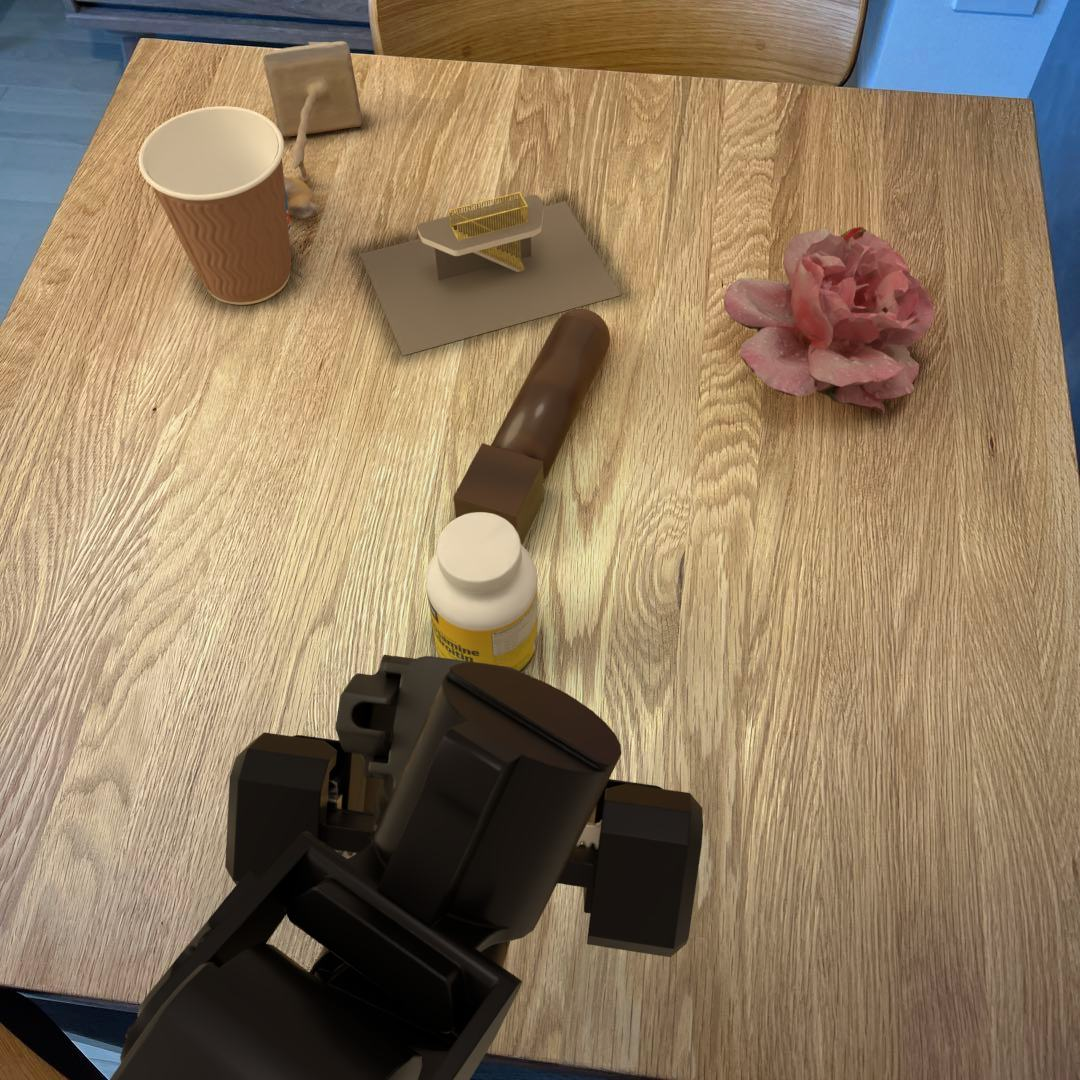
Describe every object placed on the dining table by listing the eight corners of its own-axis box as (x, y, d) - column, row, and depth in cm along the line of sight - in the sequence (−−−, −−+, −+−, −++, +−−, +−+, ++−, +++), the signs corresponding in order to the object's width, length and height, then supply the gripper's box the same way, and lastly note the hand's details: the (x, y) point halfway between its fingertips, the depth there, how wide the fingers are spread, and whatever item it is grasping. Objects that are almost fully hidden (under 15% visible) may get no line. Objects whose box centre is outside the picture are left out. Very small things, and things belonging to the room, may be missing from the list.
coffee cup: (338, 263, 92) (313, 136, 82) (252, 340, 87) (214, 216, 77) (243, 215, 95) (208, 88, 85) (155, 287, 91) (107, 162, 81)
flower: (753, 434, 78) (813, 316, 71) (693, 306, 88) (741, 191, 81) (935, 447, 83) (1008, 337, 76) (859, 324, 92) (918, 217, 86)
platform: (621, 295, 90) (625, 229, 84) (402, 355, 86) (392, 291, 81) (565, 201, 96) (566, 134, 91) (359, 254, 93) (347, 188, 87)
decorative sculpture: (318, 234, 94) (302, 160, 88) (206, 220, 95) (183, 146, 89) (369, 114, 103) (358, 39, 97) (266, 102, 104) (248, 28, 98)
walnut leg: (517, 554, 76) (516, 516, 73) (457, 534, 77) (453, 496, 74) (616, 347, 87) (619, 305, 83) (562, 332, 88) (563, 289, 84)
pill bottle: (425, 616, 74) (407, 513, 64) (521, 591, 75) (517, 485, 65) (451, 704, 70) (435, 608, 61) (551, 676, 71) (551, 578, 62)
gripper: (731, 754, 36) (714, 626, 51) (169, 676, 38) (313, 574, 53) (686, 1063, 38) (682, 852, 54) (157, 977, 40) (299, 796, 55)
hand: (493, 764), depth 54 cm, fingers open, 9 cm apart
